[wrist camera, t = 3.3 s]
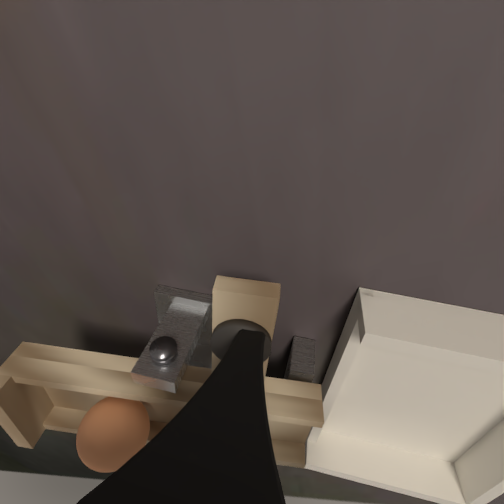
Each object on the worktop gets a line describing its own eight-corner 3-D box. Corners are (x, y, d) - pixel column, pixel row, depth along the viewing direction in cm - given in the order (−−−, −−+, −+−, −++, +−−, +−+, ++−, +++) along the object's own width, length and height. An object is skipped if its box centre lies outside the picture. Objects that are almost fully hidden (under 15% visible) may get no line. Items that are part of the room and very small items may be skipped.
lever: (52, 395, 18) (18, 446, 16) (-32, 242, 12) (-110, 291, 10) (302, 432, 18) (304, 491, 15) (355, 293, 11) (372, 358, 9)
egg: (92, 499, 14) (161, 457, 15) (74, 472, 12) (155, 426, 13) (79, 434, 16) (142, 403, 17) (62, 402, 14) (134, 370, 15)
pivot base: (170, 372, 22) (134, 447, 18) (158, 284, 17) (106, 359, 13) (295, 402, 21) (288, 489, 17) (322, 317, 16) (321, 411, 12)
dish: (306, 424, 22) (304, 467, 20) (359, 287, 14) (365, 332, 12) (457, 461, 21) (472, 512, 19) (602, 333, 13) (660, 393, 11)
